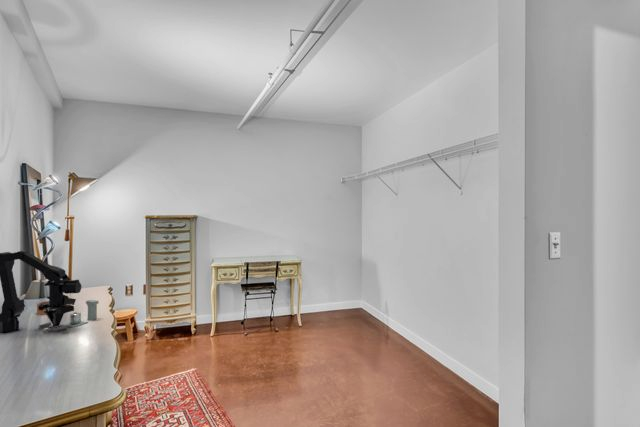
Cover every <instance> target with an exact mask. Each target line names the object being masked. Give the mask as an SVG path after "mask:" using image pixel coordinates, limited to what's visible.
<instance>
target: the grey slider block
mask: <svg viewBox="0 0 640 427" xmlns="http://www.w3.org/2000/svg"><path fill="white" fill-rule="evenodd" d="M60 326H63V324H62V323H60V325H57V324H56V322H55V319H54V317H53V324H51V326H49V327H48V328H44V329H41V330H42V332H45V331H47V330H49V329H52V330H54V328H56V327H60Z"/></svg>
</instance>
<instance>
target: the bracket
mask: <svg viewBox="0 0 640 427" xmlns="http://www.w3.org/2000/svg"><path fill="white" fill-rule="evenodd" d="M48 302H49V300H46V301H41V302H38V303H36V315H37V316H47V315H46V313H44V311H46V309H43V310H39V305H40V304H44V303H48ZM67 305H72V304H67ZM63 306H65V305H63Z"/></svg>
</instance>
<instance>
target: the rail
mask: <svg viewBox="0 0 640 427" xmlns="http://www.w3.org/2000/svg"><path fill="white" fill-rule="evenodd" d="M51 325H52V322H51V321H50V322H46V323H43V324H38V330H42V329H44V328H48V327H49V326H51ZM66 330H67V326H66V325H63V326H60V327H56V328H54V330H52V329H49V330H46V331H47V332H52V333H58V332H62V331H66Z"/></svg>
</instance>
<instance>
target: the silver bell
mask: <svg viewBox="0 0 640 427" xmlns="http://www.w3.org/2000/svg"><path fill="white" fill-rule="evenodd" d="M81 315H82V314H81V312H77V311H75V312H74V311H73V313H70V314H69V323H70V325H75V324H79V323H81V321H82V316H81Z"/></svg>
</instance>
